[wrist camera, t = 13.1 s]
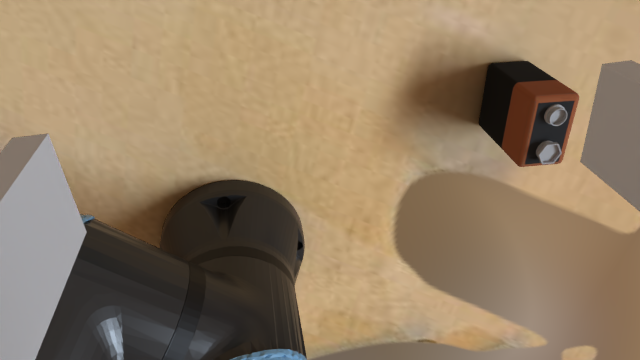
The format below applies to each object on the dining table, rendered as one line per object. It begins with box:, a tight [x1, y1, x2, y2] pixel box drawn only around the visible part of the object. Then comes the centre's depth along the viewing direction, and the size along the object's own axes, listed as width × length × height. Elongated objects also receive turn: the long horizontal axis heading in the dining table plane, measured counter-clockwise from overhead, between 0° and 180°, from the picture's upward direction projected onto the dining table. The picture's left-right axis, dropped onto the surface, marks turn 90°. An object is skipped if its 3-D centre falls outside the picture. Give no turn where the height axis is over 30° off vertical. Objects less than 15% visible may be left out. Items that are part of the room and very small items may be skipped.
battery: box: [479, 61, 579, 167], centre depth 47 cm, size 4×7×10 cm, turn 1°
